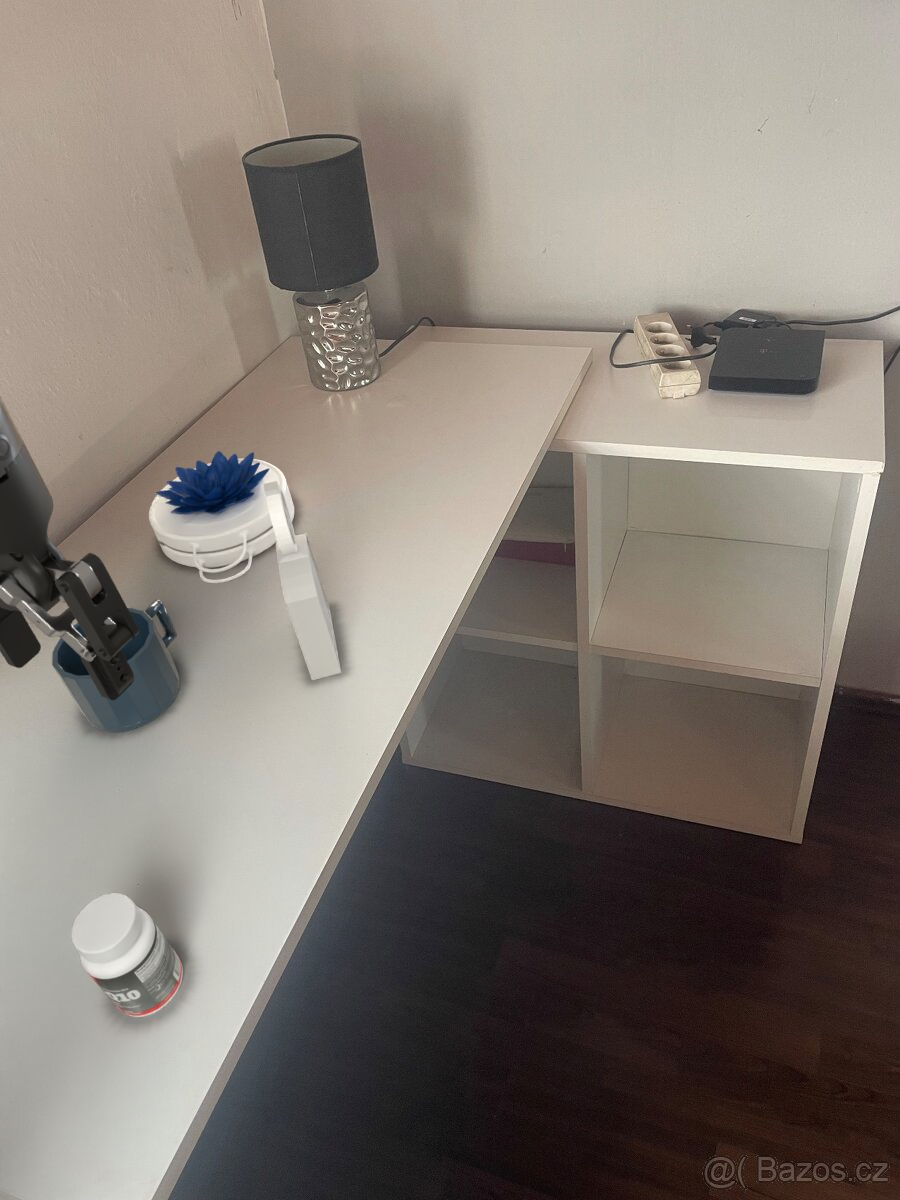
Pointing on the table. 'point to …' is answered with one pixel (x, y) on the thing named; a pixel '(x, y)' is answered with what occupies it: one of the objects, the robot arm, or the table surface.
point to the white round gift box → (217, 513)
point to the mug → (148, 664)
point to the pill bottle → (127, 955)
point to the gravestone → (302, 589)
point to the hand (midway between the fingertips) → (72, 674)
